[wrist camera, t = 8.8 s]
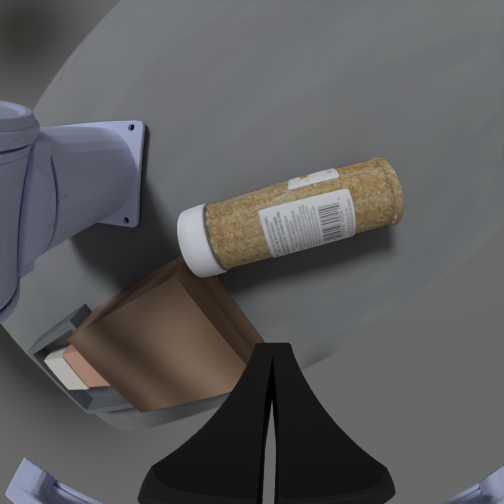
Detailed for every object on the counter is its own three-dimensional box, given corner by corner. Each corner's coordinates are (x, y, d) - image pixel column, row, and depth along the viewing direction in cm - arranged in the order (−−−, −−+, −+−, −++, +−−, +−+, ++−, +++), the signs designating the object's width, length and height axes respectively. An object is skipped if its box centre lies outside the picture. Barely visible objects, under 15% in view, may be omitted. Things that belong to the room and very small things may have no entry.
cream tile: (43, 360, 23) (53, 348, 26) (68, 389, 25) (76, 377, 27) (62, 357, 22) (72, 344, 25) (89, 389, 24) (97, 375, 26)
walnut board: (195, 246, 20) (175, 276, 15) (263, 339, 23) (261, 381, 18) (93, 310, 23) (67, 339, 18) (155, 378, 26) (140, 412, 21)
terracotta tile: (97, 334, 24) (86, 349, 21) (124, 369, 25) (115, 385, 23) (72, 341, 24) (61, 354, 22) (97, 373, 26) (88, 386, 24)
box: (85, 303, 23) (69, 320, 20) (158, 384, 26) (150, 404, 24) (38, 338, 26) (27, 351, 23) (96, 399, 30) (88, 414, 27)
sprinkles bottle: (376, 142, 15) (176, 197, 17) (412, 190, 12) (171, 255, 14) (374, 191, 19) (204, 237, 21) (400, 239, 16) (206, 290, 18)
